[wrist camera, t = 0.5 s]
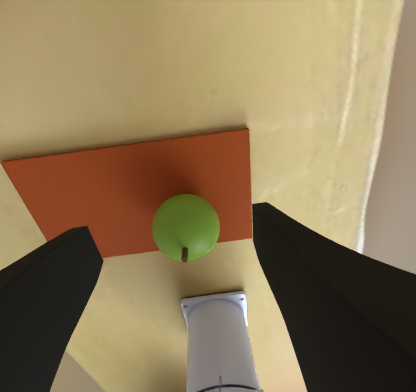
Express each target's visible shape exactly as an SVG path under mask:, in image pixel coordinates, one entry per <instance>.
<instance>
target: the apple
mask: <svg viewBox="0 0 416 392" xmlns="http://www.w3.org/2000/svg"><path fill="white" fill-rule="evenodd" d="M219 231H220V223H219V218H218V215H217V213H216V211H215V209H214V208H213V206H212V205H211V204H210V203H209V202H208V201H206V200H205V199H203V198H202V197H199V196H197V195H192V194H180V195H176V196H173V197H171V198H169V199H168V200H166V201H165V202H164V203H163V204H162V205H161V206H160V207H159V209H158V210H157V212H156V214H155V216H154V219H153V224H152V233H153V238H154V241H155V243H156V245H157V247H158V248H159V249H160V251H161V252H162V253H163V254H164V255H166V256H167V257H169V258H171V259H173V260H176V261H180V262H191V261H195V260H198V259H200V258H202V257H204V256H205V255H207V254H208V253H209V252H210V251H211V250H212V249H213V247H214V246H215V244H216V242H217V240H218V236H219Z"/></svg>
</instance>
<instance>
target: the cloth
mask: <svg viewBox="0 0 416 392" xmlns="http://www.w3.org/2000/svg"><path fill="white" fill-rule="evenodd" d="M0 163H1V165H2V166H3V168H4V170H5V171H6V173H7V175H8V176H9V178H10V180H11V181H12V183H13V185H14V186H15V188H16V190H17V191H18V193H19V195H20V196H21V198H22V200H23V201H24V203H25V205H26V206H27V208H28V210H29V211H30V213H31V215H32V216H33V218H34V220H35V221H36V223H37V225H38V226H39V228H40V230H41V231H42V233H43V235H44V236H45V238H46V240H47V241H50V240H52V239H53V238H55V237H57V236H58V235H60V234H62V233H64V232H65V231H67V230H69V229H71V228H74V227H82V226H88V229H89V231H90V233H91V235H92V237H93V239H94V241H95V244H96V246H97V248H98V250H99V252H100V254H101V257H102V258H106V257H113V256H121V255H129V254H136V253H144V252H151V251H159V250H160V249H159V248H158V247H157V245H156V243H155V241H154V238H153V233H152V224H153V219H154V216H155V214H156V212H157V210H158V209H159V207H160V206H161V205H162V204H163V203H164V202H165V201H166V200H168V199H169V198H171V197H173V196H176V195H180V194H192V195H197V196H199V197H202V198H203V199H205V200H206V201H208V202H209V203H210V204H211V205H212V206H213V208H214V209H215V211H216V213H217V215H218V218H219V223H220V231H219V236H218V240H217V242H216V243H219V242H227V241H235V240H242V239H250V238H252V212H251V177H250V143H249V129H248V128H245V129H238V130H231V131H223V132H216V133H208V134H201V135H193V136H186V137H178V138H171V139H164V140H156V141H149V142H141V143H134V144H126V145H119V146H112V147H104V148H97V149H89V150H82V151H74V152H67V153H59V154H52V155H45V156H37V157H30V158H22V159H15V160H7V161H2V162H0Z"/></svg>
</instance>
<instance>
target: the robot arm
mask: <svg viewBox="0 0 416 392" xmlns="http://www.w3.org/2000/svg"><path fill="white" fill-rule="evenodd" d="M252 214H253V242H254V246H255V249H256V253H257V256H258V259H259V262H260V265H261V267H262V269H263V272H264V274H265V276H266V279H267V281H268V283H269V285H270V288H271V290H272V292H273V295H274V297H275V299H276V301H277V304H278V306H279V308H280V311H281V313H282V316H283V318H284V321H285V324H286V327H287V330H288V333H289V336H290V339H291V342H292V345H293V348H294V351H295V354H296V357H297V360H298V363H299V366H300V369H301V372H302V376H303V379H304V382H305V385H306V388H307V392H416V274H413V273H410V272H407V271H404V270H401V269H399V268H396V267H393V266H391V265H388V264H385V263H383V262H380V261H378V260H375V259H372V258H370V257H367V256H365V255H363V254H360V253H358V252H356V251H353V250H351V249H349V248H347V247H344V246H342V245H340V244H338V243H336V242H334V241H332V240H330V239H328V238H326V237H324V236H322V235H320V234H318V233H316V232H315V231H313V230H311V229H309V228H307V227H306V226H304V225H302V224H300V223H299V222H297V221H296V220H294V219H292V218H291V217H289V216H287V215H286V214H284V213H283V212H281V211H280V210H278V209H277V208H275V207H274V206H272V205H270V204H269V203H267V202H264V203H256V204H252ZM102 265H103V259H102V257H101V254H100V252H99V250H98V248H97V246H96V244H95V241H94V239H93V237H92V235H91V233H90V231H89V229H88V226H82V227H74V228H71V229H69V230H67V231H65V232H64V233H62V234H60V235H58V236H57V237H55V238H53V239H52V240H50V241H48V242H47V243H45V244H43V245H42V246H40V247H38V248H37V249H35V250H34V251H32V252H30V253H29V254H27V255H26V256H24V257H22V258H21V259H19V260H17V261H16V262H14V263H12V264H11V265H9V266H7V267H6V268H4V269H2V270H1V271H0V392H50V389H51V386H52V383H53V380H54V378H55V375H56V372H57V370H58V367H59V364H60V362H61V359H62V356H63V354H64V351H65V349H66V347H67V344H68V342H69V340H70V338H71V335H72V333H73V331H74V329H75V327H76V325H77V323H78V321H79V319H80V317H81V315H82V313H83V311H84V309H85V307H86V305H87V302H88V300H89V298H90V296H91V294H92V292H93V290H94V288H95V285H96V283H97V280H98V277H99V275H100V271H101V268H102ZM181 307H182V311H183V315H184V318H185V322H186V325H187V329H188V341H187V378H186V392H263V390H262V389H260V385H259V380H258V376H257V371H256V367H255V362H254V358H253V353H252V348H251V344H250V339H249V335H248V322H247V304H246V293H245V292H244V291H238V292H230V293H223V294H215V295H207V296H200V297H192V298H184V299H182V300H181Z"/></svg>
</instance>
